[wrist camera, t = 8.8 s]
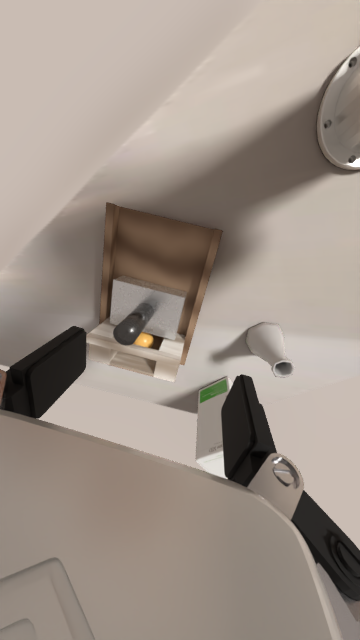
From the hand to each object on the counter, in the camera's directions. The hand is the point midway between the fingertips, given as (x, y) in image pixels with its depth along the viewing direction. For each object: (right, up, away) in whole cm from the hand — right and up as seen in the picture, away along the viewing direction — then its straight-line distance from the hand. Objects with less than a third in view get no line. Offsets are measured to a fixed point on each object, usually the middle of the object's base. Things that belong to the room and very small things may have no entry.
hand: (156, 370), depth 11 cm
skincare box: (+11, -14, +33) cm, 37 cm away
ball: (-6, -1, +25) cm, 26 cm away
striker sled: (-4, +6, +24) cm, 26 cm away
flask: (+18, -1, +26) cm, 32 cm away
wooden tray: (-3, +9, +25) cm, 27 cm away
